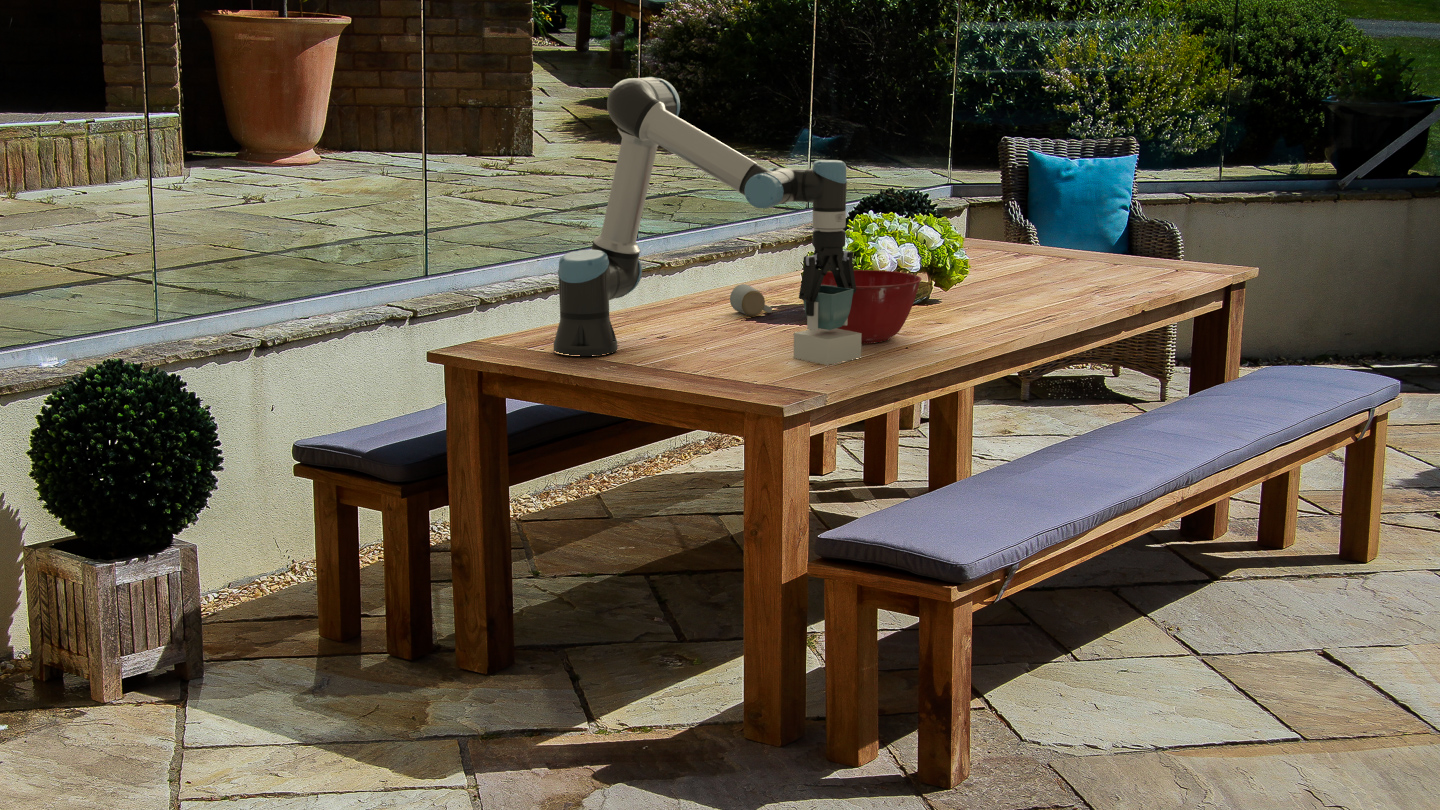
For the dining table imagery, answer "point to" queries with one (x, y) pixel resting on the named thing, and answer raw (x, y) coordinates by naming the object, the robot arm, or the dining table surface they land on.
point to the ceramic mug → (748, 300)
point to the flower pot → (833, 306)
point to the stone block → (827, 345)
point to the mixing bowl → (879, 302)
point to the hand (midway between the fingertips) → (827, 327)
